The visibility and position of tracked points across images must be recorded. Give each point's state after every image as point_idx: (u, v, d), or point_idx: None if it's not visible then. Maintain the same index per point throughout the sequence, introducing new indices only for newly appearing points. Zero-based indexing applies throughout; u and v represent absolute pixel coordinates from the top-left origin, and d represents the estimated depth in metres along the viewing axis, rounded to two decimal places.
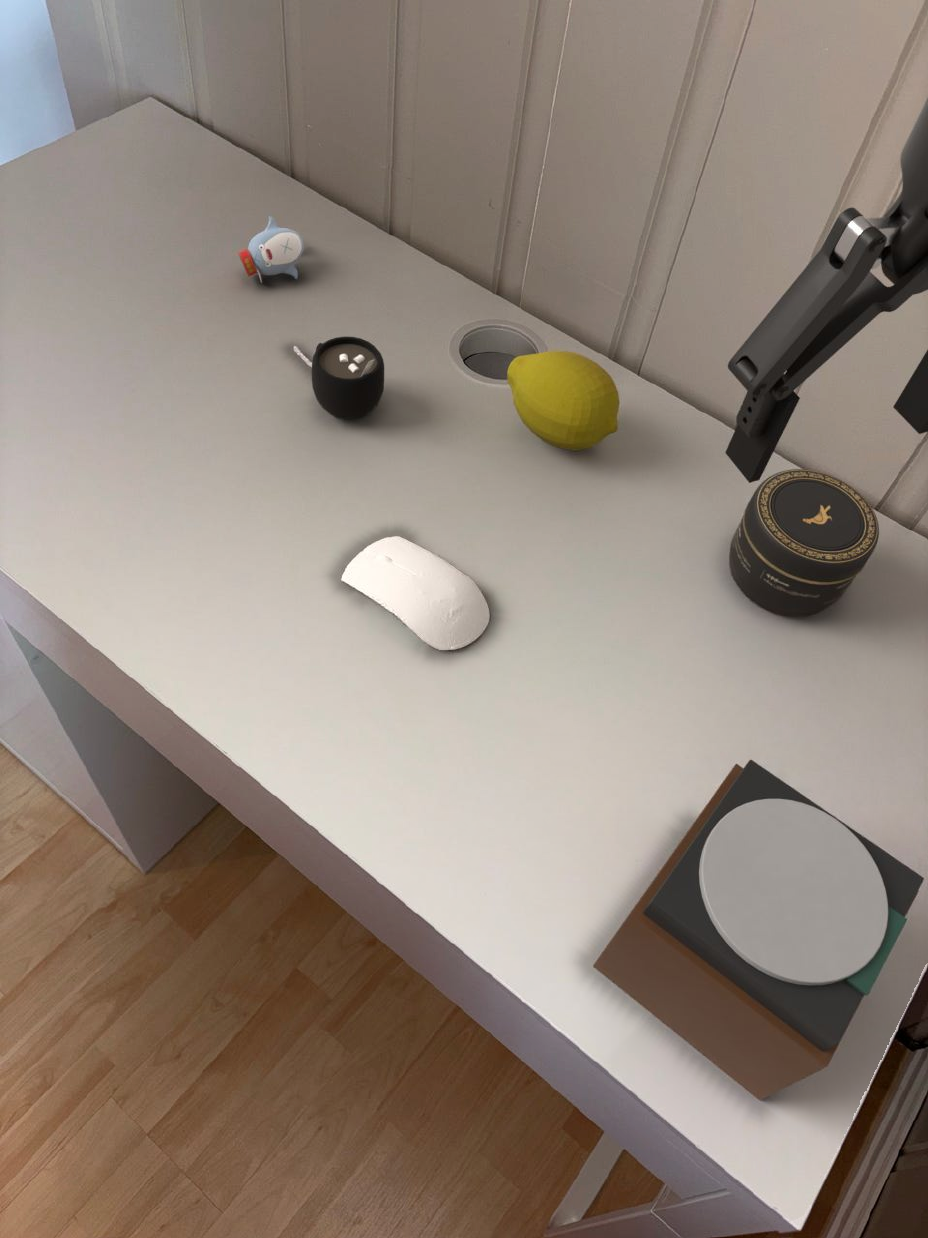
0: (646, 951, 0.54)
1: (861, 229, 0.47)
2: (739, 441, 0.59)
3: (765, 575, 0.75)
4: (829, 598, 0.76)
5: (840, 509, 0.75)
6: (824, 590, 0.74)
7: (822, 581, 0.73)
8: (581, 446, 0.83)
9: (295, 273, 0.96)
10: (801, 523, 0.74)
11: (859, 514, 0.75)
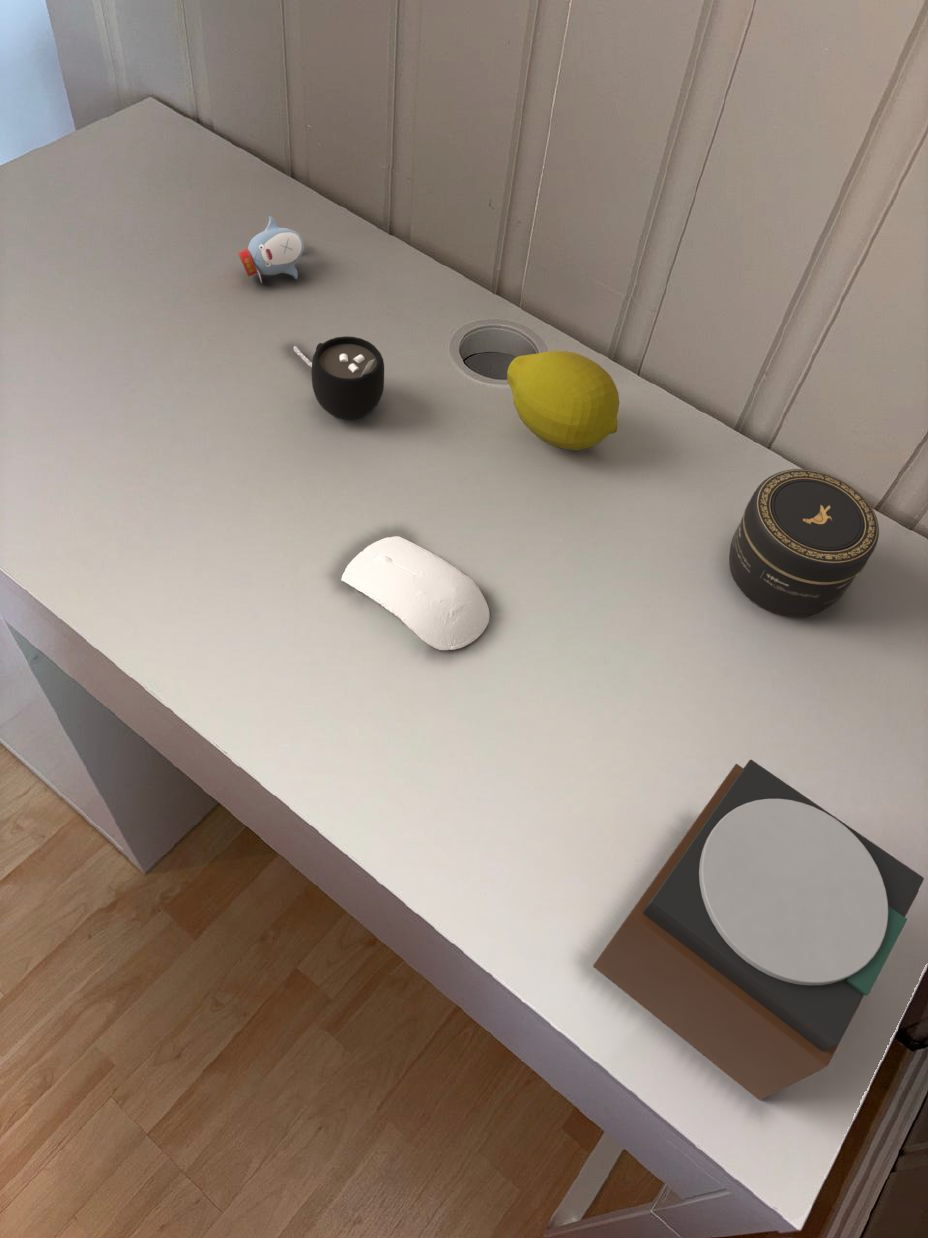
0: (646, 951, 0.54)
1: None
2: None
3: (765, 575, 0.75)
4: (829, 598, 0.76)
5: (840, 509, 0.75)
6: (824, 590, 0.74)
7: (822, 581, 0.73)
8: (581, 446, 0.83)
9: (295, 273, 0.96)
10: (801, 523, 0.74)
11: (859, 514, 0.75)
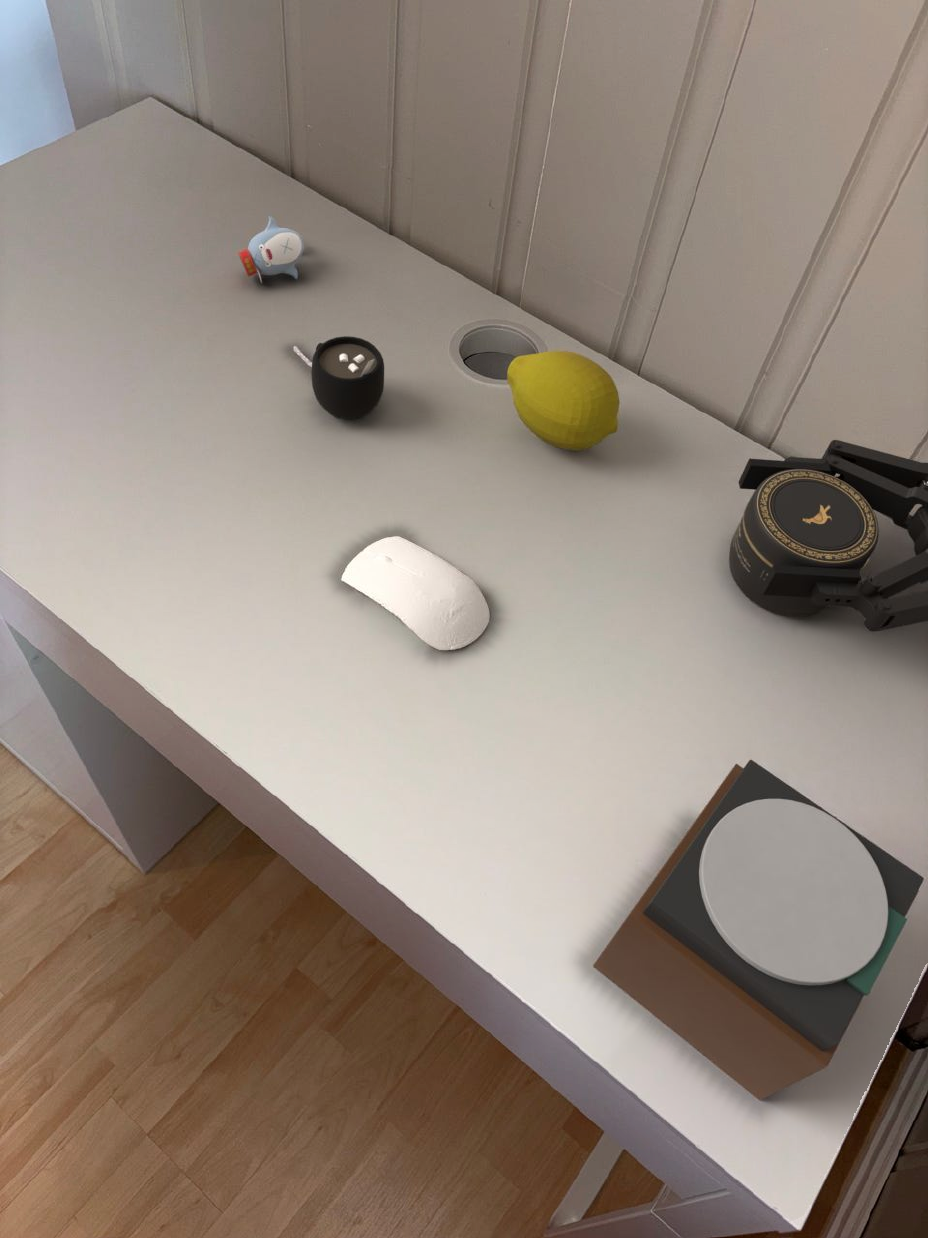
0: (646, 951, 0.54)
1: None
2: None
3: (765, 575, 0.75)
4: None
5: (840, 509, 0.75)
6: None
7: None
8: (581, 446, 0.83)
9: (295, 273, 0.96)
10: (801, 523, 0.74)
11: (859, 514, 0.75)
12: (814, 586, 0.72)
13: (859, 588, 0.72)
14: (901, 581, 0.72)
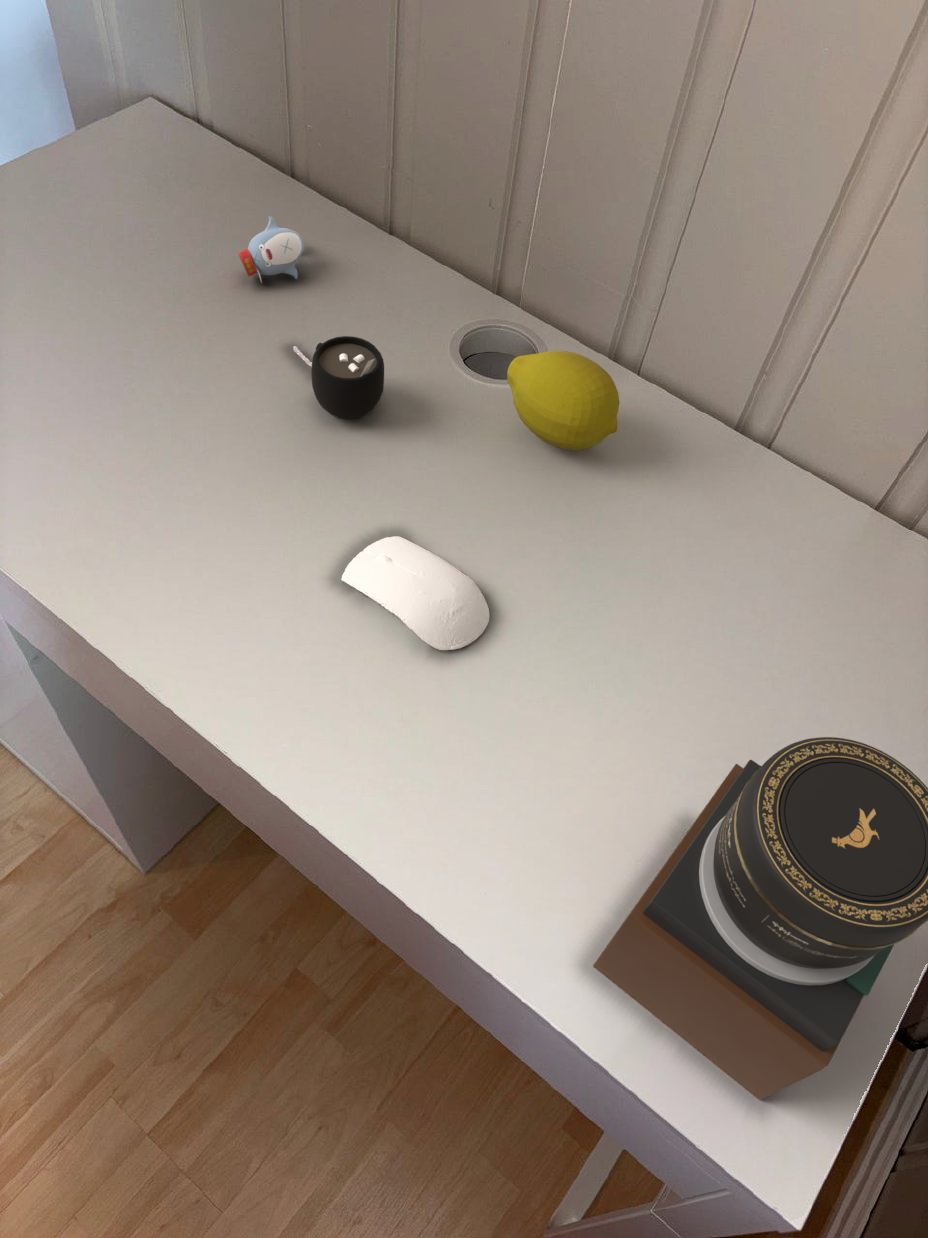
0: (646, 951, 0.54)
1: None
2: None
3: (771, 923, 0.46)
4: (873, 954, 0.47)
5: (892, 816, 0.46)
6: (866, 952, 0.46)
7: (864, 946, 0.44)
8: (581, 446, 0.83)
9: (295, 273, 0.96)
10: (829, 847, 0.45)
11: (923, 825, 0.46)
12: None
13: None
14: None
